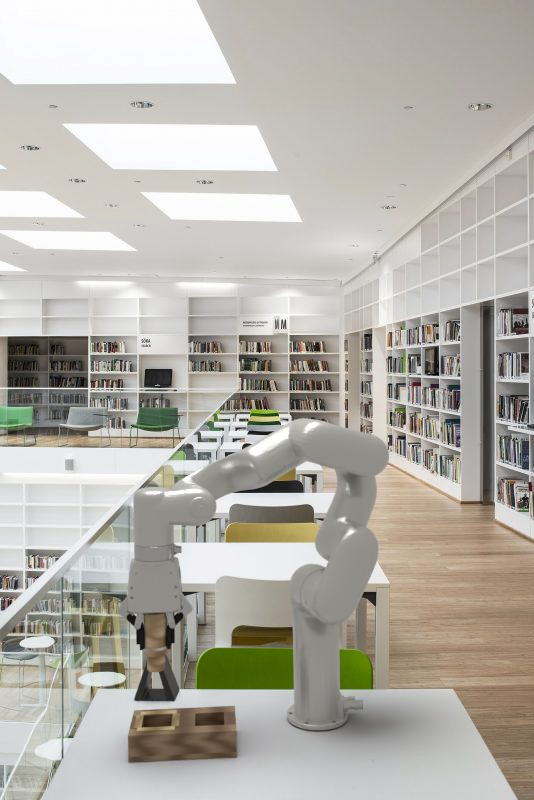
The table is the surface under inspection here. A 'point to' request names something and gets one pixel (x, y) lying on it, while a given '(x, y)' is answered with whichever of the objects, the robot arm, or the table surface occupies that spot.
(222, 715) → the board
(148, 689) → the phone stand
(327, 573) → the robot arm
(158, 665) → the peg
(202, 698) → the table surface
